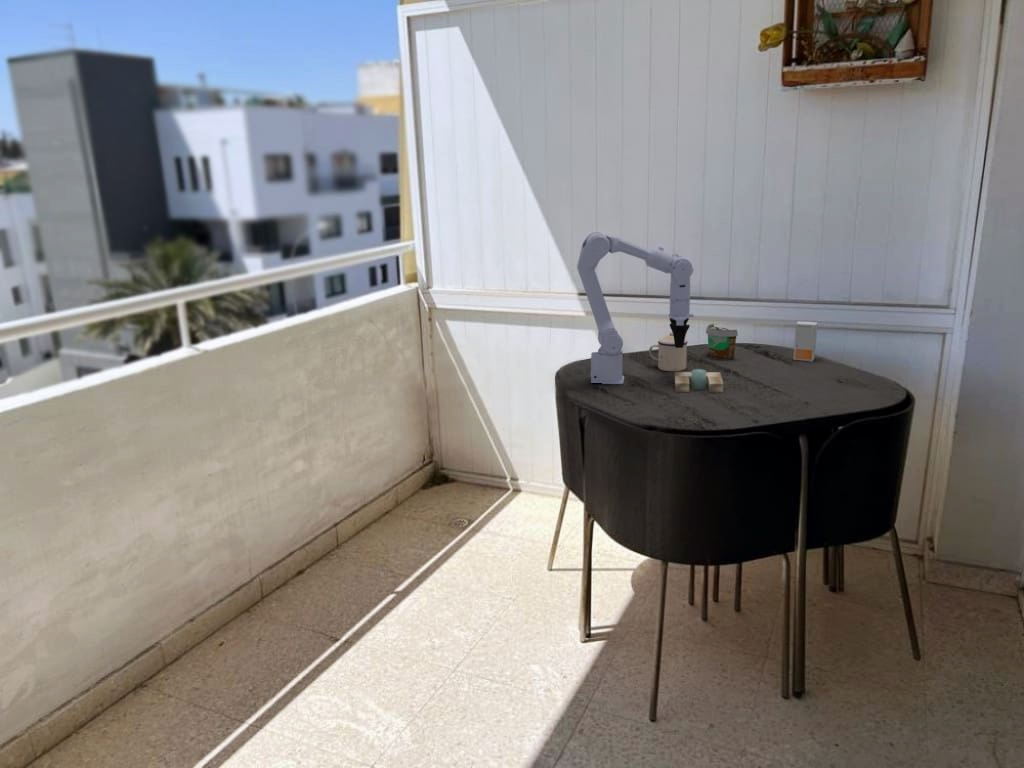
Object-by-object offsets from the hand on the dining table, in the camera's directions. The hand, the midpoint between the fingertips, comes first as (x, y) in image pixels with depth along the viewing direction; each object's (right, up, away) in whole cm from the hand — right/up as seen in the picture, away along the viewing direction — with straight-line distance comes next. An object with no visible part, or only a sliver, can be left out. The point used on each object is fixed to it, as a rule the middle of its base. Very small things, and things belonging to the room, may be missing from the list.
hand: (678, 344), depth 215 cm
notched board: (+4, -12, -6) cm, 14 cm away
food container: (+18, -3, +25) cm, 31 cm away
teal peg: (+4, -13, -7) cm, 15 cm away
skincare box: (+44, -4, +18) cm, 48 cm away
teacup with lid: (0, -7, +15) cm, 16 cm away
